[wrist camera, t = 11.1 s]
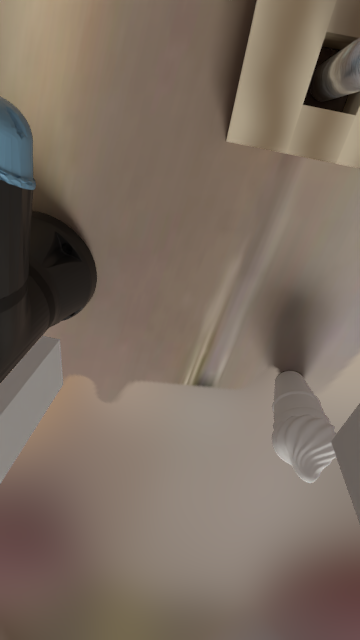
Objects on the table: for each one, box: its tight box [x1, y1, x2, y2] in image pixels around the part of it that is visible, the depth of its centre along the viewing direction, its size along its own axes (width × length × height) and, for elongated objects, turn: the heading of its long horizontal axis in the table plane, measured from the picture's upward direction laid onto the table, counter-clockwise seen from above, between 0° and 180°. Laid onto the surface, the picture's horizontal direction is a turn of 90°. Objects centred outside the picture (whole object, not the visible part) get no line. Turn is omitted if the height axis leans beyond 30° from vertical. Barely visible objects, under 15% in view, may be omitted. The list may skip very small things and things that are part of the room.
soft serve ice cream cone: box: [272, 371, 337, 483], centre depth 40 cm, size 8×8×16 cm
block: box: [226, 0, 360, 168], centre depth 25 cm, size 16×12×4 cm
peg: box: [310, 37, 360, 102], centre depth 22 cm, size 3×3×12 cm
